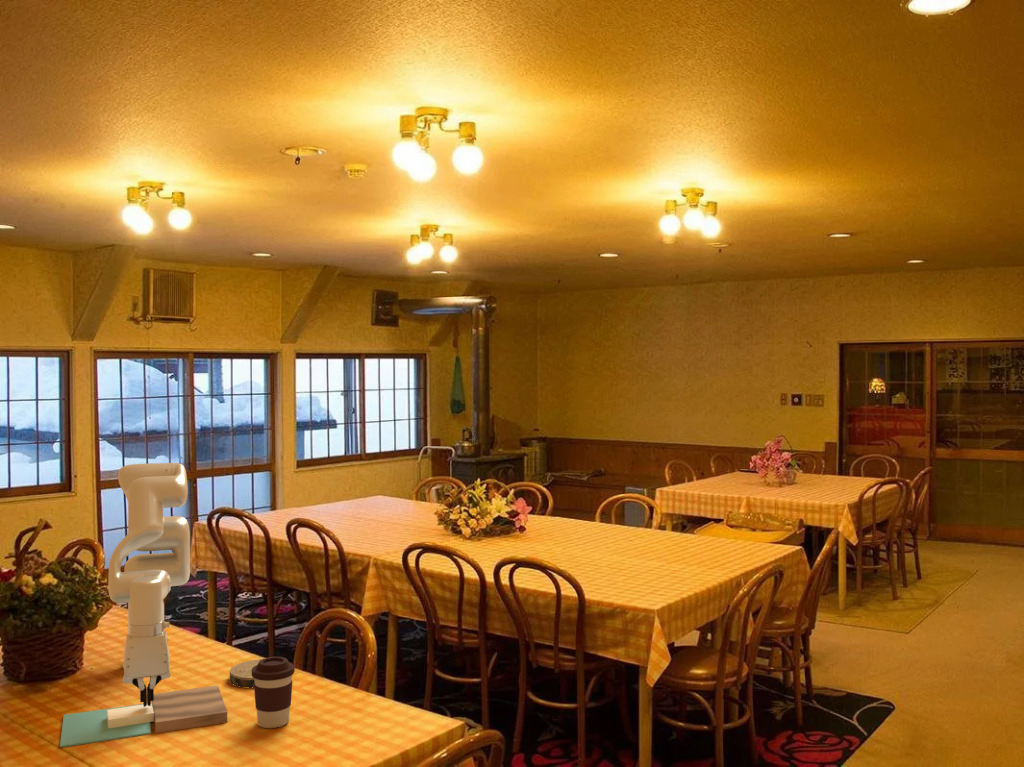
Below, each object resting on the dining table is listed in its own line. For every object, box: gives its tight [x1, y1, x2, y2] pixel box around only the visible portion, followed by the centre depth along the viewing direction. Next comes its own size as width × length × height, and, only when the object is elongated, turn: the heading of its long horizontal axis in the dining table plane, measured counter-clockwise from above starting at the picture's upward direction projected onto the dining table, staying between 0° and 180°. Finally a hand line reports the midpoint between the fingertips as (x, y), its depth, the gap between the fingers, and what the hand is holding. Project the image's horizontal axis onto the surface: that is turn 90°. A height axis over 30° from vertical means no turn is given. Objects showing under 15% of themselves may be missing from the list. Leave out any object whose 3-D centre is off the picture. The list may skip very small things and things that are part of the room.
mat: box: [59, 703, 152, 748], centre depth 217 cm, size 20×19×1 cm
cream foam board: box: [107, 702, 154, 728], centre depth 219 cm, size 7×10×2 cm
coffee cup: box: [252, 656, 296, 729], centre depth 218 cm, size 10×10×15 cm
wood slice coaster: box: [229, 658, 263, 689], centre depth 250 cm, size 16×16×3 cm
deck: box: [151, 684, 228, 734], centre depth 224 cm, size 20×16×2 cm
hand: (147, 704), depth 220 cm, fingers closed
